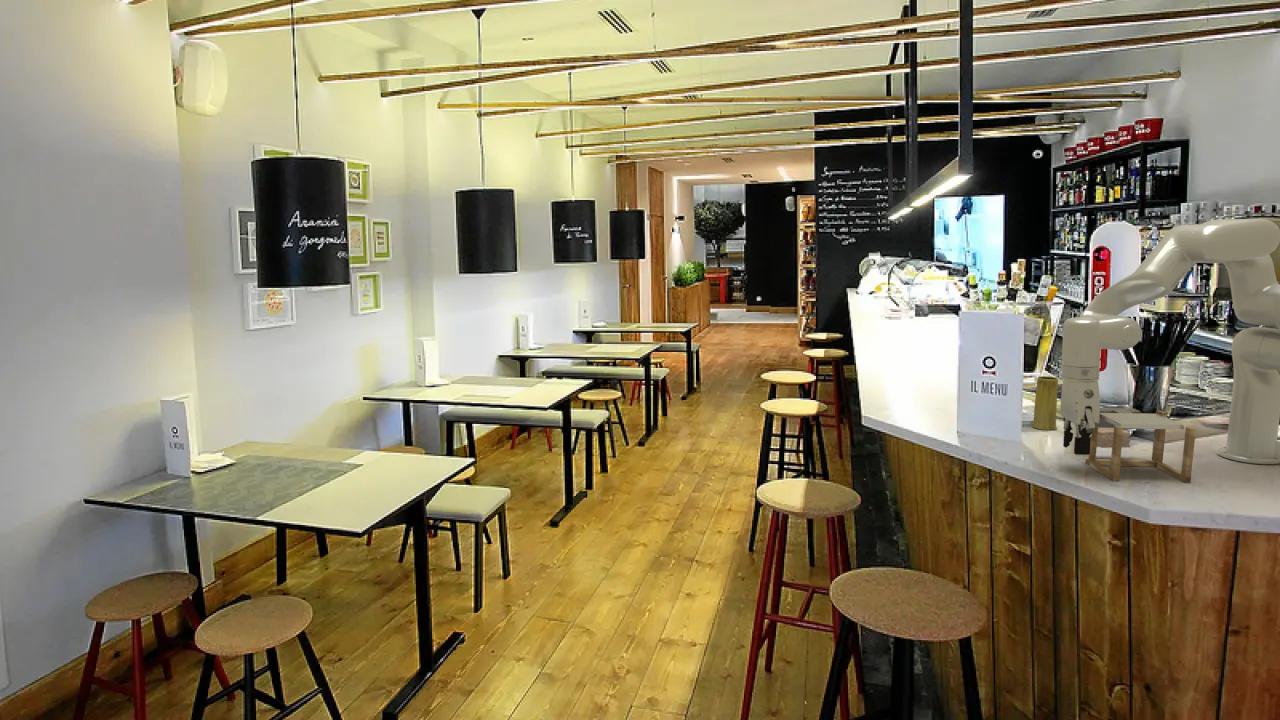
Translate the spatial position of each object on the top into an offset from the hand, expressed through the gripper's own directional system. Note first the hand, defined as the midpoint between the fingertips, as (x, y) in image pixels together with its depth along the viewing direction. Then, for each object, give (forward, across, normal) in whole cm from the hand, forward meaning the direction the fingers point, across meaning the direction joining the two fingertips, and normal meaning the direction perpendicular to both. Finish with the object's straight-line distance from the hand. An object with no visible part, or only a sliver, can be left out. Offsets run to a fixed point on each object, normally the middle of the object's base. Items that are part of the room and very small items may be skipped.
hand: (1076, 449), depth 183 cm
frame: (+5, 0, -13) cm, 14 cm away
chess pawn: (+2, 0, 0) cm, 2 cm away
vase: (+6, +43, -9) cm, 44 cm away
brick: (+6, +31, -18) cm, 36 cm away
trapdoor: (-2, +4, -13) cm, 14 cm away
